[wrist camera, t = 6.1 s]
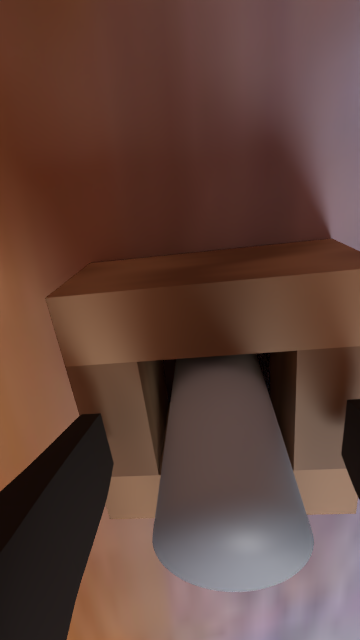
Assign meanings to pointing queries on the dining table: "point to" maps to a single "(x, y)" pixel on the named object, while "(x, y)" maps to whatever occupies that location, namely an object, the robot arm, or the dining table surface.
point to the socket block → (217, 353)
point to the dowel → (227, 482)
